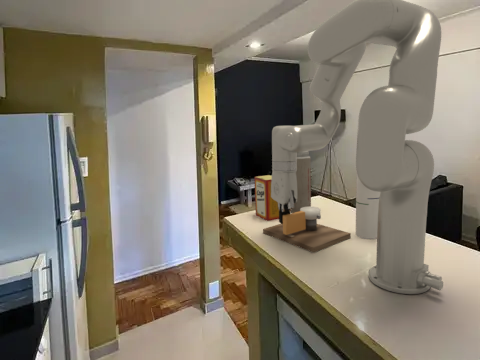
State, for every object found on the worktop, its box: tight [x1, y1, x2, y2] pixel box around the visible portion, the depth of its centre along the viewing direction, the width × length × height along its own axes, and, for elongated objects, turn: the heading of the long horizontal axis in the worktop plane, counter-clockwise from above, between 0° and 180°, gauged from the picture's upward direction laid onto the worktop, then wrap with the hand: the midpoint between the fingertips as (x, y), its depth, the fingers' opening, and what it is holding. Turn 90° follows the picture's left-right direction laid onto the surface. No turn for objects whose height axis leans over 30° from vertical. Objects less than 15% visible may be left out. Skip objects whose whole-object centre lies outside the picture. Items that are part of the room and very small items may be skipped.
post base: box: [262, 219, 351, 253], centre depth 103 cm, size 22×17×6 cm
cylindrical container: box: [355, 174, 381, 240], centre depth 99 cm, size 7×7×25 cm
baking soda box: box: [253, 174, 280, 222], centre depth 125 cm, size 10×6×16 cm
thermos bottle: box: [290, 151, 312, 213], centre depth 128 cm, size 8×8×28 cm
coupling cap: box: [283, 206, 322, 235], centre depth 102 cm, size 14×8×6 cm, turn 123°
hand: (284, 222), depth 103 cm, fingers closed
